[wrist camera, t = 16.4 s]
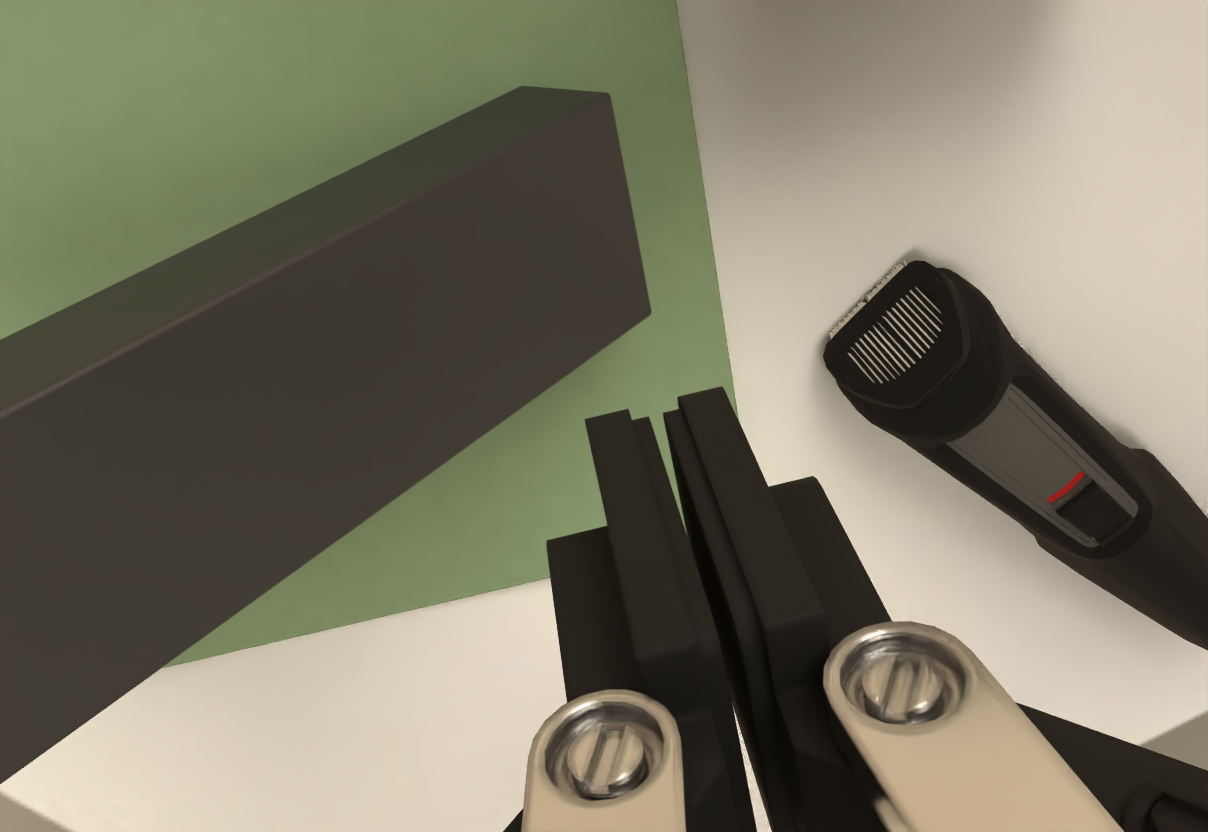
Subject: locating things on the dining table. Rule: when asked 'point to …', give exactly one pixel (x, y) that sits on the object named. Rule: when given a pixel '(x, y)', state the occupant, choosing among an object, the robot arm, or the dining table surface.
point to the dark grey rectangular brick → (290, 389)
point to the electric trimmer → (1022, 442)
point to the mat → (320, 152)
